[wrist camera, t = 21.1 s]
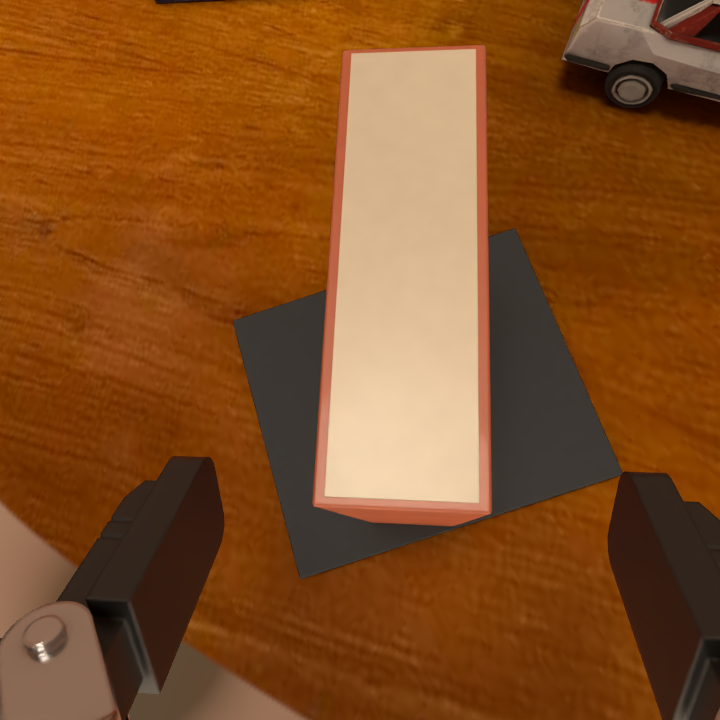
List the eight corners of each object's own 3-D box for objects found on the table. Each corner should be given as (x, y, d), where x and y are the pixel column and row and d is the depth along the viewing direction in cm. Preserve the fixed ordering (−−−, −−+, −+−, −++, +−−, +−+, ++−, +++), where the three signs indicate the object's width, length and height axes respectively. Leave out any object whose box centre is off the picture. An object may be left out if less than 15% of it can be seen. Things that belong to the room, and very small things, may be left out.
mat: (302, 578, 25) (299, 579, 25) (235, 324, 29) (232, 320, 28) (619, 475, 25) (623, 474, 25) (513, 232, 29) (515, 227, 28)
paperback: (369, 522, 25) (310, 506, 12) (379, 279, 28) (341, 47, 15) (454, 526, 25) (493, 514, 11) (455, 279, 28) (486, 41, 14)
